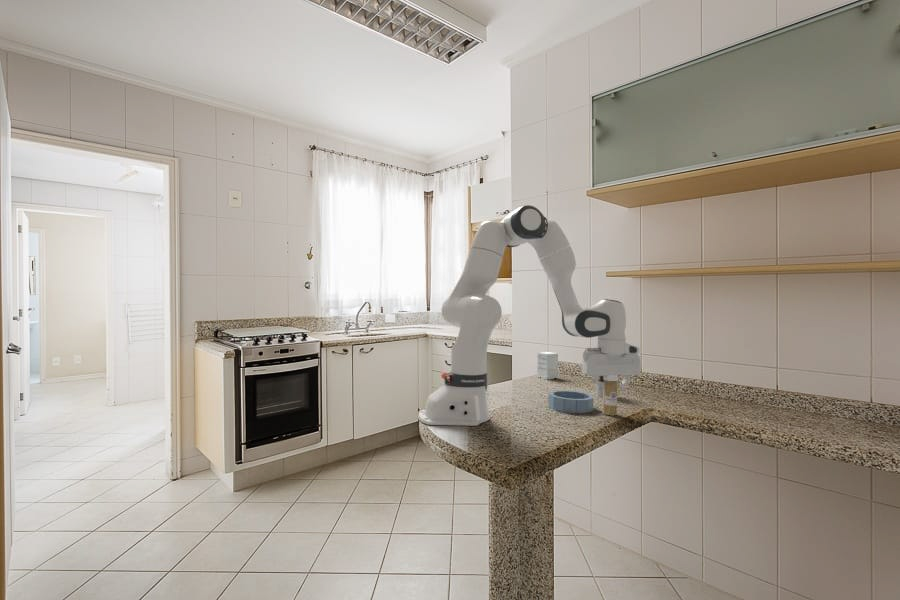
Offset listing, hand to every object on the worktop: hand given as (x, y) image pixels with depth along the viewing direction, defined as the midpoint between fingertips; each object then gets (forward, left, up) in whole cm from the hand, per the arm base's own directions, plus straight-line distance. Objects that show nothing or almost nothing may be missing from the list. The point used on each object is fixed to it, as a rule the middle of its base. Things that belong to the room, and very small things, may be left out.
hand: (611, 388), depth 141 cm
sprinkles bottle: (0, 0, -9) cm, 9 cm away
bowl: (-9, +10, -9) cm, 16 cm away
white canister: (+9, +67, -9) cm, 68 cm away
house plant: (+13, +26, -9) cm, 30 cm away
